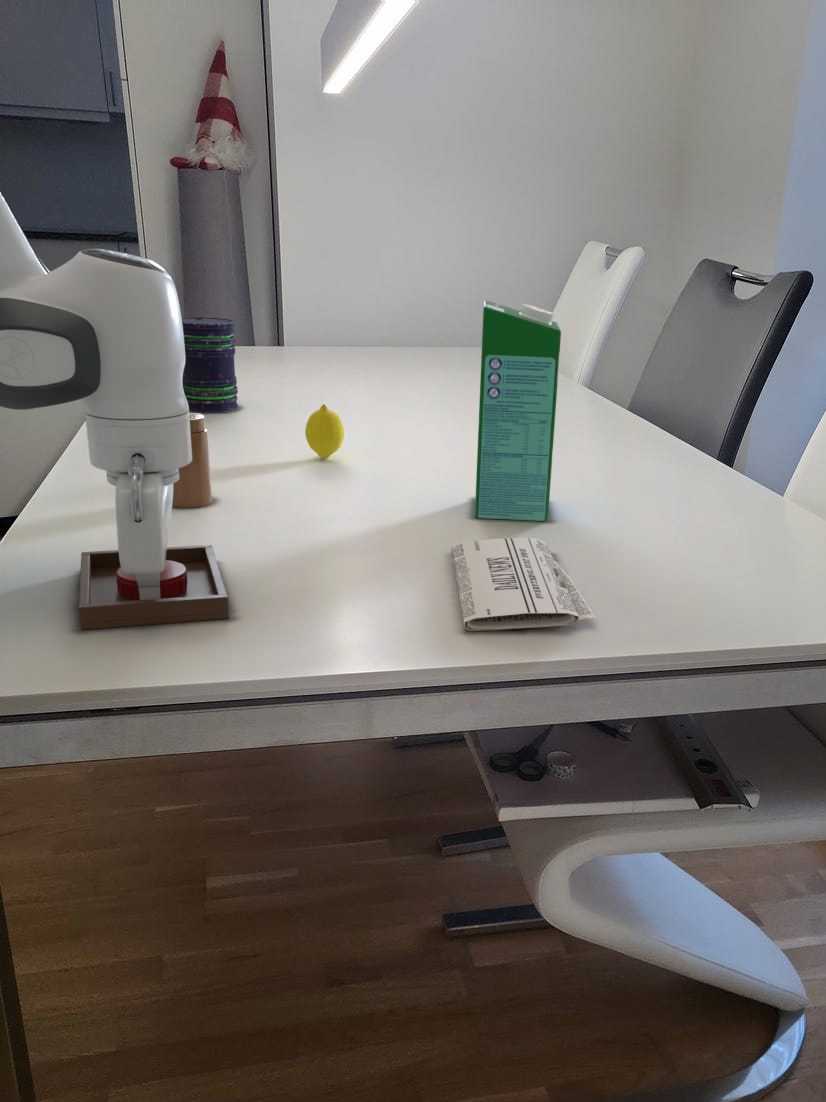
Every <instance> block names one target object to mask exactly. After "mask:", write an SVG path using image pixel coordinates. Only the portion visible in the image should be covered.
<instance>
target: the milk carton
mask: <svg viewBox="0 0 826 1102" xmlns="http://www.w3.org/2000/svg"><path fill="white" fill-rule="evenodd" d="M554 316H555V313H553V312H552V311H550V310H546V309H543V308H541V307H537V306H534V305H532V304H526V303H522V305H521V307H520V310H518V309H515V308H512V307H508V306H505V305H502V304H499V303H495V302H493V301H489V300H486V299H485V300H484V301H483V311H482V331H481V353H480V354H481V357H480V360H481V361H480V377H479V378H480V380H479V382H480V383H479V404H478V405H479V406H478V428H477V429H478V431H477V449H476V450H477V452H476V453H477V454H476V473H475V474H476V475H475V480H476V481H475V500H474V501H475V503H474V518H475V519H489V520H490V519H491V520H515V521H536V522H539V521H540V522H548V521H549V512H550V511H549V510H550V495H551V482H552V468H553V466H552V465H553V455H554V454H553V452H554V441H555V439H554V438H555V425H556V412H557V411H556V410H557V398H558V384H559V371H560V354H561V343H562V342H561V340H562V330H561V328H560V327H559V324H558V323H557V322H556V321H553V319H554Z"/></svg>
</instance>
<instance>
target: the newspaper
mask: <svg viewBox="0 0 826 1102" xmlns="http://www.w3.org/2000/svg"><path fill="white" fill-rule="evenodd" d="M450 549H451V555H452V561H453V568H454V574H455V579H456V587H457V592H458V598H459V604H460V605H459V606H460V610H461V617H462V623H463V628H464V629H466V630H468V631H470V632H472V631H473V632H474V631H475V632H476V631H503V630H513V629H531V628H534V629H535V628H548V627H561V626H573V625H574V624H576V623H578V622H579V621H581V620H584V619H586V620H587V619H592V618H593V619H597V617H596V615H595V613H594V612H593V610H592V609H591V608H590V606H589V604H588V603H587V601H586V600H585V599H584V596H583V595H582V594H581V592H580V591H579V589H578V588H577V586H576V584H575V583H574V581H573V580H572V578H571V577H570V576H569V575H568V573H566V571H565V570H564V569H563V568H562V567H561V566H560V564H559V563H558V562H557V561H556V560H555V559H554V557H553V555H552V552H551V550H550V548H549V547H548V543H547V542H544V541H543V540H542V539H539V538H538V537H502V538H491V539H480V540H479V539H478V540H469V541H468V540H467V541H460V542H457V543H455V544H452V545H451V548H450Z"/></svg>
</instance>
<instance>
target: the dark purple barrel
mask: <svg viewBox="0 0 826 1102" xmlns="http://www.w3.org/2000/svg"><path fill="white" fill-rule="evenodd" d="M181 318H182V325H183V334H184V346H185V366H184V370H183V379H182V383H183V390H184V394H185V397H186V399H187V402H188V406H189V412H190V413H198V414H219V413H220V414H221V413H228V412H234V411H236V410H238V408H239V405H238V401H237V400H238V396H237V395H238V394H239V391H238V386H237V384H238V383H237V381H238V380H237V376H236V370H235V368H236V367H235V355H236V350H237V349H236V345H235V344H236V336H235V329H234V327H235V321H234V320H232V319H228V318H220V317H181Z"/></svg>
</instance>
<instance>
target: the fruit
mask: <svg viewBox="0 0 826 1102" xmlns="http://www.w3.org/2000/svg"><path fill="white" fill-rule="evenodd" d="M304 432H305V439H306V442H307V444H308V446H309V448H310V449H311V450H312V451H313V452H314V453H316V454H317V456H318V458H320V459H322V460H326V459H328V458H329V457H331V456H332V455H333V454H334V453H336V452H338V450H339V449H340V448H341V446H342V444H343V441H344V439H345V438H344V437H345V430H344V426H343V423H342V420H341V418H340V416H339V414H337V413H335V412H334V411H332V410H330V409H328V406H327V405H326V404H324V403H323V404H322V405H320V408H319V409H317V410H316V411H314V412H313V413H311V414H310V416H309V418H308V419H307V422H306V426H305V431H304Z"/></svg>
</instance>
